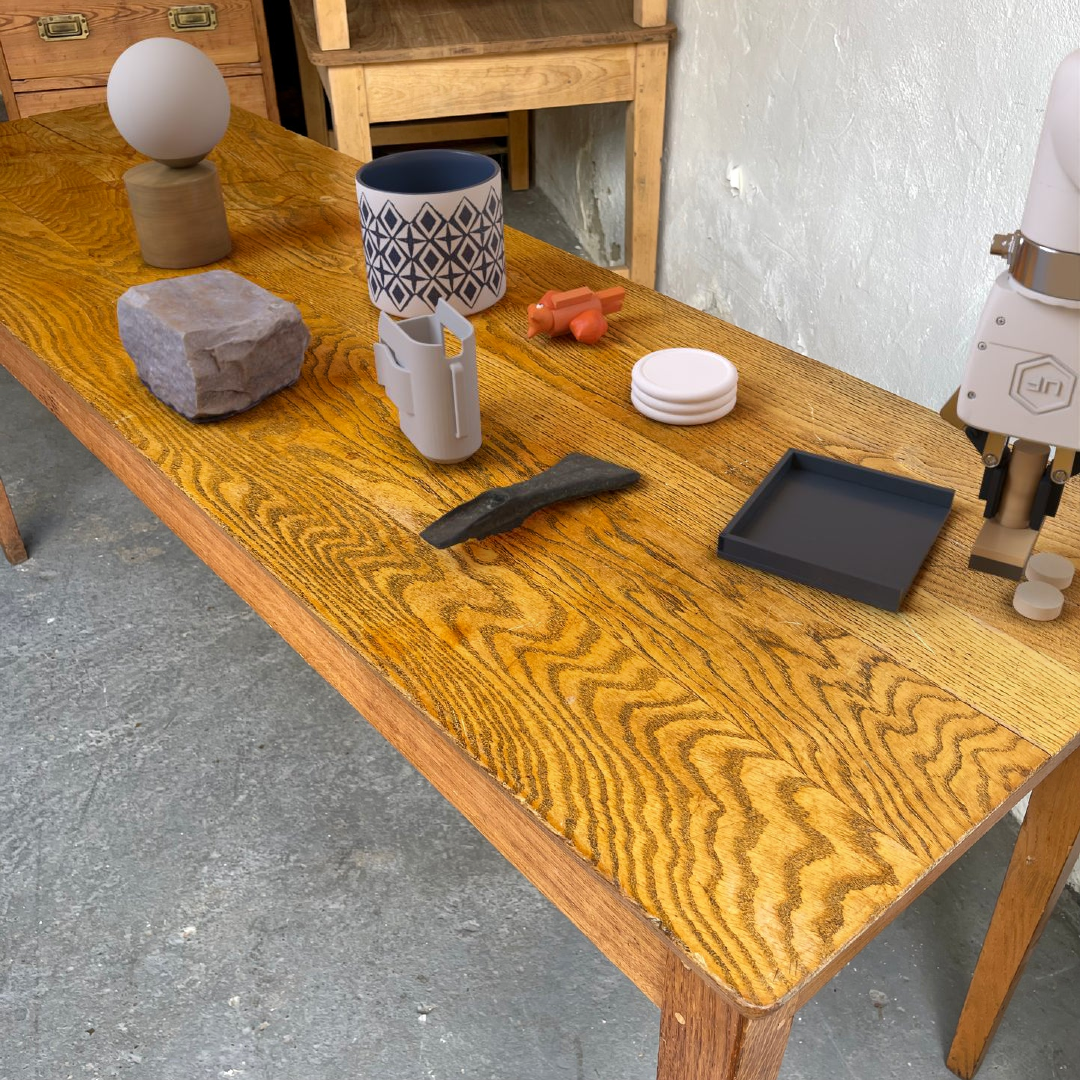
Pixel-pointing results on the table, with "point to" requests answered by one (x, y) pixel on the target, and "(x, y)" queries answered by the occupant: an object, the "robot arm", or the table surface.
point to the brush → (1012, 516)
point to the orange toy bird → (574, 313)
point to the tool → (526, 499)
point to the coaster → (684, 386)
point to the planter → (432, 231)
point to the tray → (838, 527)
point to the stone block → (211, 342)
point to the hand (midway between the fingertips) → (1015, 513)
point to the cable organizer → (432, 382)
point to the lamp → (173, 150)
